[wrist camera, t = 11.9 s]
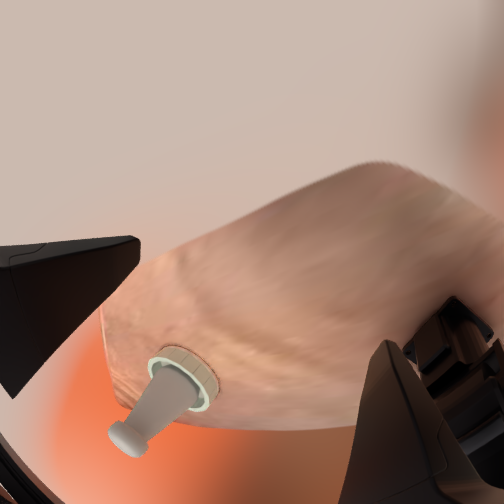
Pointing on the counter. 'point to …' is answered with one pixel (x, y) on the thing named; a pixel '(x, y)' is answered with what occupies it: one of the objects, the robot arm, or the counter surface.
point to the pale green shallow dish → (188, 372)
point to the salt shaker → (155, 410)
